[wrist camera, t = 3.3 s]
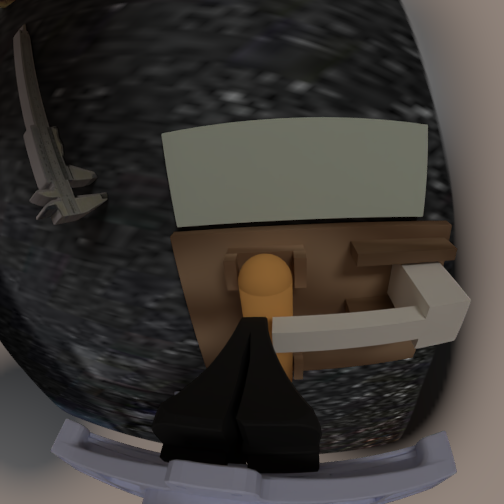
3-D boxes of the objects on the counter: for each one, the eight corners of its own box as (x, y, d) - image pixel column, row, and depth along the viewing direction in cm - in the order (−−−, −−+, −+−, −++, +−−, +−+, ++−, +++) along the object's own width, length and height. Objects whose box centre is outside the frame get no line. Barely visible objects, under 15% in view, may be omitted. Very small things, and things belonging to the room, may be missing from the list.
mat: (419, 214, 16) (422, 216, 15) (179, 224, 17) (177, 227, 17) (423, 124, 13) (427, 124, 13) (164, 133, 15) (161, 133, 14)
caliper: (112, 196, 17) (56, 231, 12) (103, 204, 18) (48, 240, 12) (27, 24, 10) (-22, 19, 4) (20, 32, 10) (-28, 30, 5)
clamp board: (409, 351, 21) (418, 371, 19) (208, 363, 24) (203, 385, 21) (446, 220, 16) (465, 235, 13) (174, 231, 18) (159, 249, 15)
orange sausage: (291, 374, 21) (292, 403, 18) (256, 375, 21) (253, 404, 19) (290, 243, 16) (293, 269, 13) (238, 245, 16) (231, 272, 13)
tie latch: (421, 289, 17) (454, 340, 12) (275, 299, 18) (273, 362, 13) (430, 252, 16) (471, 300, 11) (273, 261, 17) (271, 320, 12)
